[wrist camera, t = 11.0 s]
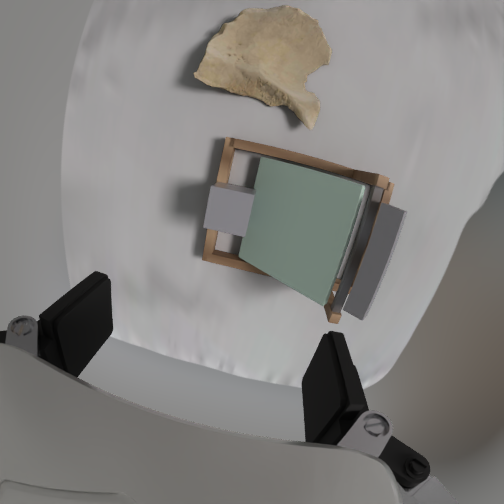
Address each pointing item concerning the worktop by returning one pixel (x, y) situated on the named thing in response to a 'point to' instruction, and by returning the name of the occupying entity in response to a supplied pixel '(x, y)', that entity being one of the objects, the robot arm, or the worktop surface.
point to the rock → (268, 58)
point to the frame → (379, 183)
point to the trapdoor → (316, 233)
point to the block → (229, 208)
